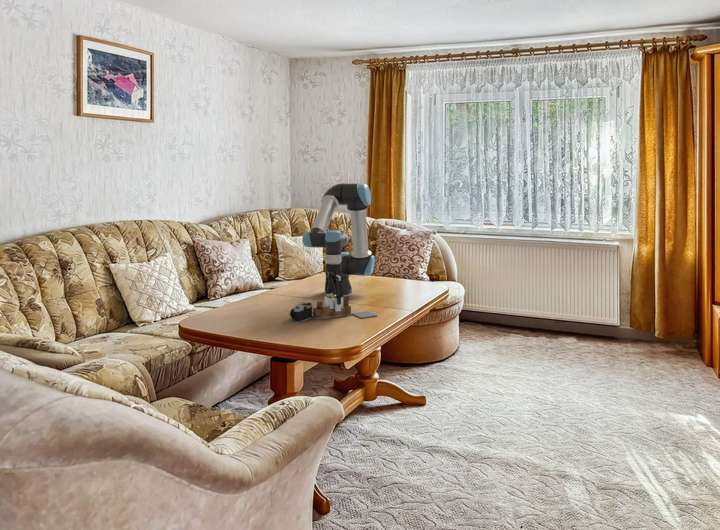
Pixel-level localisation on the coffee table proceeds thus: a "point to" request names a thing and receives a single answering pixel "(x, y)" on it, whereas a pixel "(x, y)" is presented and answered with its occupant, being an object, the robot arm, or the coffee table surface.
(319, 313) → the plane body
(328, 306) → the grey gold knob block
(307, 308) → the camera
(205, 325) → the coffee table surface
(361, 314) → the felt mat
